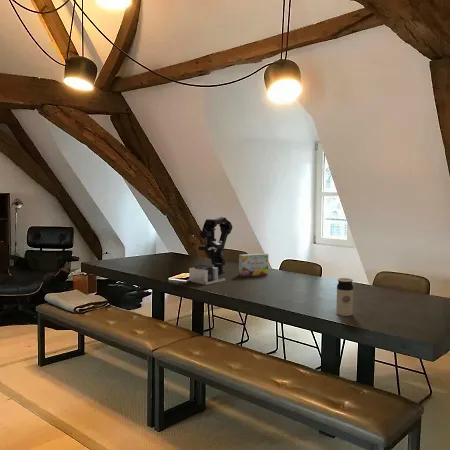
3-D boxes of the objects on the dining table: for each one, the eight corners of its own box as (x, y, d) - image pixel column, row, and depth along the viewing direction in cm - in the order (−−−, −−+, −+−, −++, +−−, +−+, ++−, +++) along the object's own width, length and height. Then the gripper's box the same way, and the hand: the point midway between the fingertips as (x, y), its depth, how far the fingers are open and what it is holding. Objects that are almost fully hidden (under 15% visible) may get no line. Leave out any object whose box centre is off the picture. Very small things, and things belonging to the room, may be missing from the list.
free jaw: (203, 278, 343) (204, 265, 342) (218, 280, 335) (218, 267, 334) (200, 278, 341) (200, 266, 340) (214, 281, 332) (214, 268, 331)
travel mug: (336, 311, 259) (337, 277, 257) (352, 312, 257) (353, 278, 255) (335, 315, 251) (336, 280, 250) (352, 316, 249) (353, 281, 248)
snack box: (241, 276, 351) (242, 255, 350) (238, 275, 356) (238, 254, 355) (268, 274, 360) (268, 253, 358) (264, 273, 365) (264, 252, 363)
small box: (194, 281, 334) (194, 265, 333) (200, 279, 340) (200, 264, 339) (206, 283, 328) (206, 267, 327) (212, 281, 333) (213, 266, 332)
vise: (207, 277, 348) (207, 264, 347) (225, 280, 337) (225, 267, 336) (187, 281, 334) (187, 267, 333) (206, 284, 323) (206, 271, 322)
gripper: (209, 239, 338) (209, 261, 340) (227, 236, 352) (227, 258, 354) (198, 237, 346) (198, 260, 347) (216, 235, 360) (216, 257, 361)
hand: (210, 259), depth 352 cm, fingers closed
